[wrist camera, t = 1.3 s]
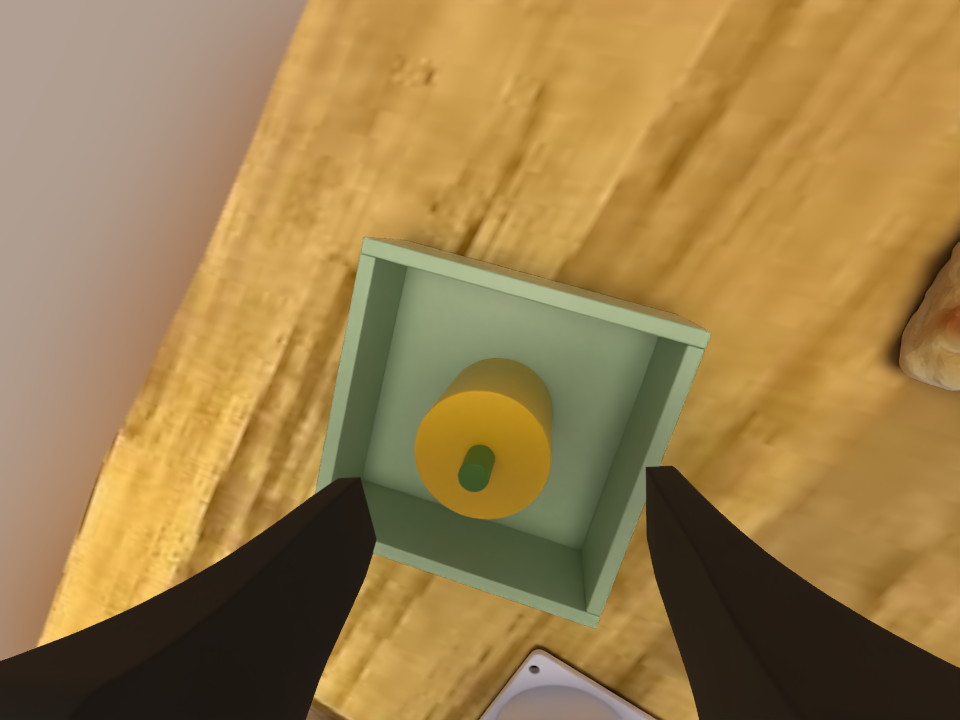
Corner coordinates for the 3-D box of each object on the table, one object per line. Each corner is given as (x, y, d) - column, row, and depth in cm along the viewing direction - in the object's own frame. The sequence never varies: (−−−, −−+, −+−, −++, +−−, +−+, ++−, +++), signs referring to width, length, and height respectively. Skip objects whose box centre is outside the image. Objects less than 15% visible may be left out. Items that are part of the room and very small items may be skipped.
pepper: (517, 477, 22) (500, 573, 15) (428, 424, 22) (374, 496, 16) (573, 393, 21) (581, 458, 14) (479, 337, 21) (443, 375, 14)
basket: (588, 556, 23) (596, 629, 19) (353, 480, 24) (307, 531, 20) (678, 314, 20) (712, 332, 15) (403, 239, 21) (363, 236, 17)
